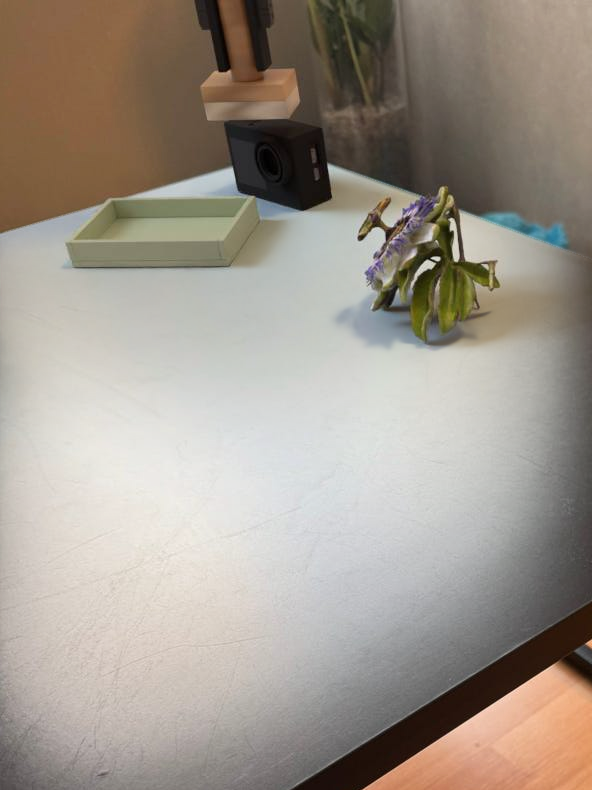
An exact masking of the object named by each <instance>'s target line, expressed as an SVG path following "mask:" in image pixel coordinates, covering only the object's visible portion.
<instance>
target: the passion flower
mask: <svg viewBox="0 0 592 790" xmlns="http://www.w3.org/2000/svg"><path fill="white" fill-rule="evenodd" d="M449 190H450V188H449V187H448V186H447V185H446V186H441V187H440V188H439V190H438V193H437V195H436V196H432V195H431V193H430V192H429V193H427V194H426V195H425V196H420V197H419V199H415V201H414V203H411V202H410V203H409V207H407V208H404V207H402V209H401V210H402V214H401V216H400V217H398V218H397V221H396V222H395V223H394V225H393V226H391V227H390V226H388V225H387V224H386V223H385V222H384V221H383V220H382V219H381V218H382V214H383V213H384V212H385V210H386V209H387V208H388V207H389V205H390V204H391V202H392V198H391V197H390V196H387V197H386V198H385V199H383V200H382V201H380V202H379V203H378V204H377V205H376V206H375V208H373V209H372V211H368V212H367V215H366V218H365V220H364V221H363V223H362V224H361V226H360V228H359V230H358V233H357V236H356V237H357V238H356V239H357V241H358V242H362V241H364V240H365V238H367V236H368V234H369V233H371V232H372V230H373V229H375V228H380V229H381V230H382V231H383V232H384V234H385V235H384V238H385V239H384V240H385V242H384V243H382V244H381V246H380V248H379V250H376V251H375V252H374V254H373V261H372V262H371V264H370V265H369V267H368V269H367V270H365V271H364V275H365V276H367V277H366V278H365V280H366V284H367V285H366V287H368V286H370V287H371V289H372V290H373V291H375V292H377V295H376V297H375V298H373V299H374V300H373V302H372V304H371V305H370V306H371V307H370V311H372V312H376V311H379V310H380V309H381V310H387V309H389V308H390V307H391V306H392V305H393V303H394V300H395V297H396V294H397V292H398V293H399V294H398V296H399V299H400V300H401V303H402V304H404V305H406V304H407V299H408V298H407V297H408V294H409V291H410V290H412V295H411V301H410V307H409V308H410V317H411V323H410V325H411V328H412V331H413V332H414V336H415V338H418V339H419V340H422V341H423V342H424V344H425V345H426V344H429V329H430V326H431V324H432V320H433V318H434V312H435V310H434V307H435V306H434V303H435V297H436V288H437V285H438V287H439V289H438V292H439V293H438V298H439V303H438V304H437V316H438V317H437V321H438V328H439V332H440V336H446V335H447V333H449V332H450V331H451V330H452V329H453V328H454V327H455V326H456V323H458V322H459V323H462V322H463V321H464V322H465V320H466V318H467V317H468V316H469V314H471V312H472V310H473V307H474V305H476V307H477V310H478V309H480V304H479V301H478V295H477V292H476V284H475V283H477V284H478V285H481V286H482V287H487V288H488V291H490V292H493V291H494V289H499V288H500V287H501V284H500V282H499V279H498V278H497V276H496V267H497V263H498V259H493V260H492V259H491V260H484V261H481V262H472V261H468V260H466V257H465V251H464V249H465V248H464V242H463V235H462V227H461V215H460V210H459V204H458V203H457V202H456V201H455V199H454V196H453V195H451V194H449V192H450V191H449ZM450 219H453V220H454V223H455V227H456V233H457V234H456V235H457V245H458V253H459V257H458V261H455V259H454V253H453V245H454V242H455V230H453V229H451V224H452V223H451V220H450ZM435 257H436V258H439V260H435V259H433V258H435ZM426 261H429V262H432V263H434V266H433V267H432V268H426V270H424V271H423V272H420V273H419V275H417V276H416V274H417V272H418V271H419V269H420V268H421V266H422V265H423V264H424V263H425V262H426ZM484 265H487V267H488V268H486V267H485V266H484ZM415 276H416V279H415ZM414 280H415V281H414ZM413 281H414V282H413ZM412 282H413V284H412ZM438 283H439V284H438ZM411 286H412V287H411Z"/></svg>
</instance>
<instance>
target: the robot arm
mask: <svg viewBox="0 0 592 790" xmlns="http://www.w3.org/2000/svg"><path fill="white" fill-rule="evenodd" d="M193 1H194V6H195V11H196V15H197V20H198V21H197V22H198V25H199V27H200V29H201V30H202V31H210V37H211V42H212V46H213V51H214V57H215V61H216V66H217V71H218V72H219V73H225V72H227V71H228V70H230V65H229V60H228V55H227V50H226V45H225V40H224V35H223V30H222V25H221V20H220V15H219V10H218V5H217V0H193ZM244 1H245V7H246V12H247V18H248V24H249V29H250V35H251V41H252V46H253V52H254V58H255V63H256V69H257V72H265V71H266V70H267V69H270V67H271V66H272V64H273V61H272V56H271V55H272V54H271V49H270V43H269V38H268V32H267V29H270V28H271V27H273V26H274V24H275V19H276V18H275V12H274V6H273V5H274V4H273V0H244Z"/></svg>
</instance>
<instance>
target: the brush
mask: <svg viewBox="0 0 592 790" xmlns="http://www.w3.org/2000/svg"><path fill="white" fill-rule="evenodd" d="M217 5H218V10H219V15H220V20H221V25H222V30H223V35H224V40H225V45H226V50H227V55H228V60H229V65H230V69H229V70H228V71H227V72H225V73H219V72H218V70H214V71H213V72H212V73H211V74H210V76H208V78H206V79H205V81H204V82H203V83H202V84H201V85H200V87H199V88H200V93H201V97H202V103H203V107H204V111H205V115H206V120H207V121H208V122H212V121H217V122H218V121H229V120H259V119H287V120H290V118H291V116H292V115H293V114H294V112H295V111H296V109H297V108H298V106H299V104H300V103H301V99H300V93H299V86H298V79H297V73H296V69H295V68H268V69H267V70H266V71H265V72H257V69H256V63H255V58H254V52H253V46H252V41H251V35H250V29H249V24H248V18H247V12H246V7H245V1H244V0H217Z"/></svg>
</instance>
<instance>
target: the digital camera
mask: <svg viewBox="0 0 592 790" xmlns="http://www.w3.org/2000/svg"><path fill="white" fill-rule="evenodd" d="M223 127H224V133H225V137H226V141H227V142H226V143H227V146H228V152H229V157H230V161H231V165H232V171H233V175H234V179H235V184H236V189H237V192H239V193H242V194H246V195H247V196H255V197H256V198H259V199H262V200H266V201H269V202H272V203H276V204H278V205H282V206H286V207H290V208H293V209H296V210H299V211H305V210H308V209H309V208H312V207H314V206H316V205H318V204H321V203H324V202H326V201H328V200H330V199H333V194H332V193H333V192H332V185H331V179H330V171H329V165H328V158H327V151H326V143H325V136H324V132H323V127H320V126H316V125H312V124H308V123H304V122H301V121H297V120H296V121H295V120H292V119H259V120H225V121H223Z"/></svg>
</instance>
